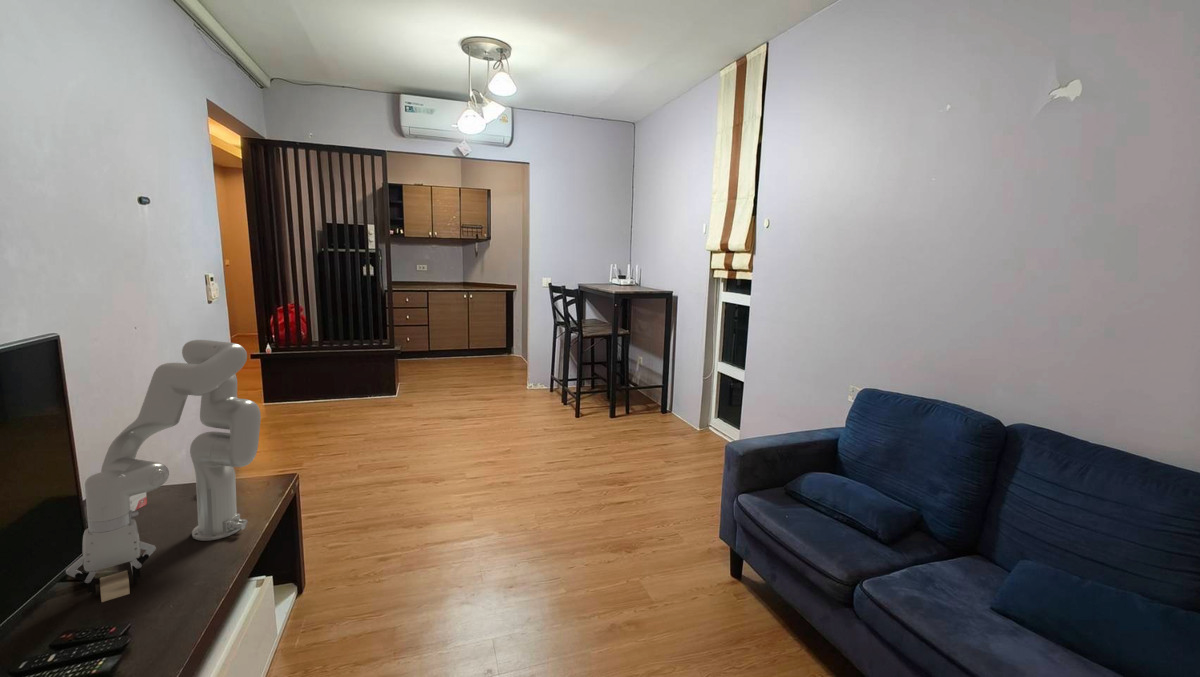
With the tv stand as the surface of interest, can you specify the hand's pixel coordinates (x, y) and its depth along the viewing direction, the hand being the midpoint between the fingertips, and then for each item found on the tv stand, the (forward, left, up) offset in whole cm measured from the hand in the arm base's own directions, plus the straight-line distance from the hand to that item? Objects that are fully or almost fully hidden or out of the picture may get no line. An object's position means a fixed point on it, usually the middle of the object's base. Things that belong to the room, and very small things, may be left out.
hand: (114, 586), depth 124 cm
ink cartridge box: (+34, -35, -1) cm, 49 cm away
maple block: (-1, +1, -1) cm, 2 cm away
